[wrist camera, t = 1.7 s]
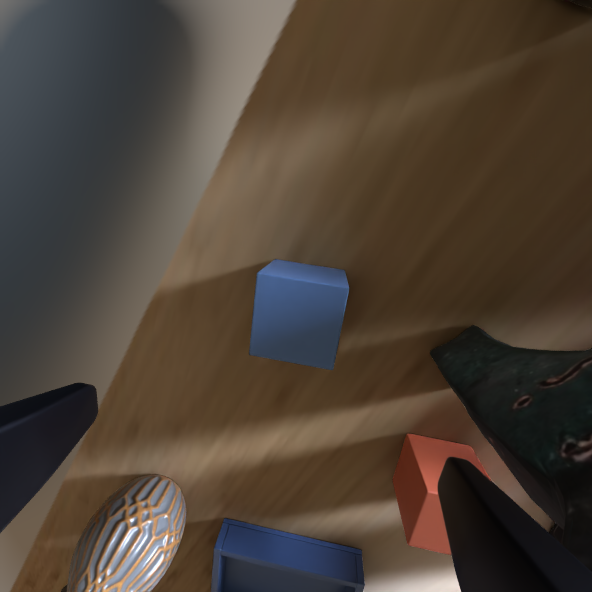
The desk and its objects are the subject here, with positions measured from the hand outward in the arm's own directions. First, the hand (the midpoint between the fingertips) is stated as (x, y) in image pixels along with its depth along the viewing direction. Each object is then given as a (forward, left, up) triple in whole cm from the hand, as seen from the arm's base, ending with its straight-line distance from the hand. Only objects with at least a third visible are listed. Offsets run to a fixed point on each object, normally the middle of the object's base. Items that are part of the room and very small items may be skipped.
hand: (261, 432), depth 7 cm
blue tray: (-2, +27, -12) cm, 29 cm away
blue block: (0, 0, -12) cm, 12 cm away
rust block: (-11, +11, -12) cm, 19 cm away
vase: (+10, +20, -12) cm, 25 cm away
